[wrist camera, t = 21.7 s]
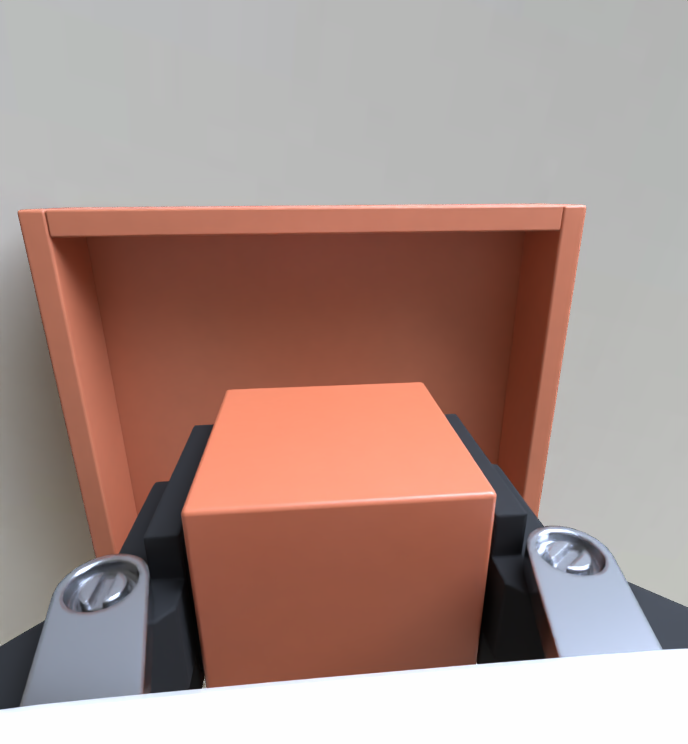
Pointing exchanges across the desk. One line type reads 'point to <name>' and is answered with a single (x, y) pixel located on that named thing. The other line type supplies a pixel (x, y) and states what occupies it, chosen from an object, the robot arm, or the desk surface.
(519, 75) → the desk surface
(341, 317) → the terracotta tray
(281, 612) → the terracotta block
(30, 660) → the robot arm
